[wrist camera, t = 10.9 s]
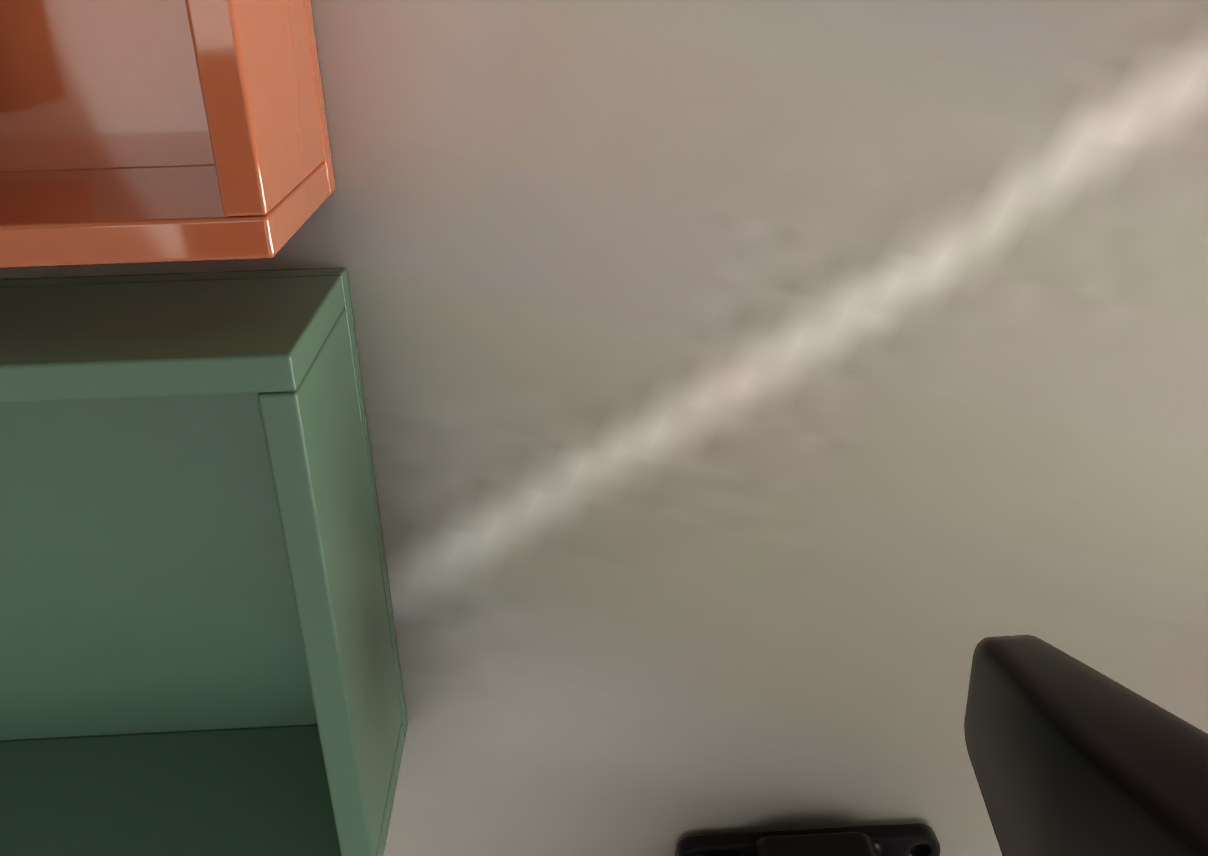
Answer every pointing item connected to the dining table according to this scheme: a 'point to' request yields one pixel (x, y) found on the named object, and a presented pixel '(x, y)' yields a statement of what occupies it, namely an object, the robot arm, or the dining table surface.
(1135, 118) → the dining table surface
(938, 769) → the dining table surface
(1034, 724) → the robot arm
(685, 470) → the dining table surface
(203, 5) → the terracotta tub
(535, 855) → the dining table surface
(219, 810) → the green tub
